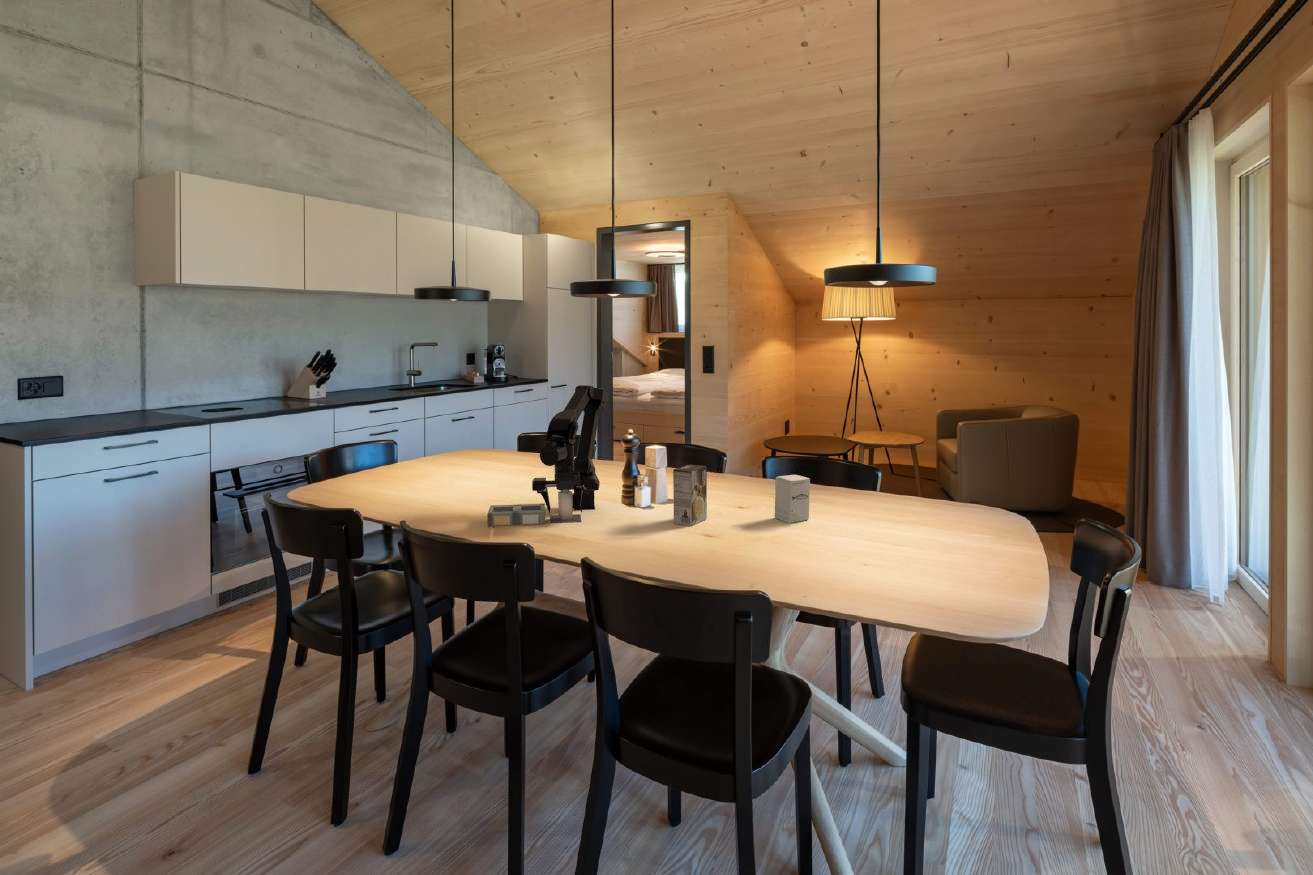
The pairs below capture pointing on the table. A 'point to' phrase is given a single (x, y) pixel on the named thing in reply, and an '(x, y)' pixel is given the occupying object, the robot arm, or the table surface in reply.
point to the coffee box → (690, 494)
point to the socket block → (516, 515)
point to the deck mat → (556, 520)
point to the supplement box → (792, 498)
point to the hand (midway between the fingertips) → (565, 511)
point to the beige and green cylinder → (565, 504)
